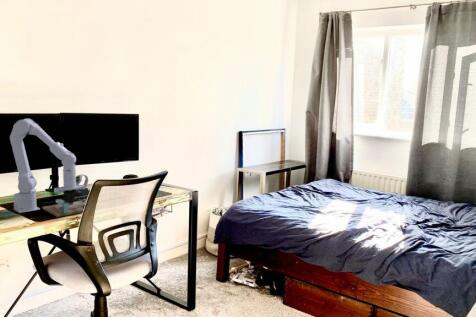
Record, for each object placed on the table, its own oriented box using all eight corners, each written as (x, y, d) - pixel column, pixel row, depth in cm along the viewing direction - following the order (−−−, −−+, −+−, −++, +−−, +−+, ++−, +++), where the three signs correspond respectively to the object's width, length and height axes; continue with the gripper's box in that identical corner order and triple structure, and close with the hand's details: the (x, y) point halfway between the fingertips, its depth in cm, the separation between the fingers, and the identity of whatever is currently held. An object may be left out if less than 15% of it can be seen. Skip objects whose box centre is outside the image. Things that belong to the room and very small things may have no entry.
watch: (72, 194, 235) (72, 175, 233) (84, 191, 242) (84, 173, 240) (79, 195, 232) (78, 176, 230) (90, 193, 239) (90, 174, 237)
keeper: (64, 213, 196) (63, 203, 195) (56, 209, 202) (55, 199, 201) (69, 212, 198) (68, 202, 197) (60, 208, 204) (60, 199, 203)
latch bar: (85, 203, 213) (85, 198, 212) (89, 205, 210) (89, 199, 210) (55, 209, 200) (55, 203, 200) (59, 211, 198) (59, 205, 197)
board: (57, 216, 193) (57, 214, 193) (42, 208, 205) (42, 206, 205) (99, 209, 208) (99, 207, 208) (83, 201, 220) (83, 200, 220)
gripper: (80, 175, 212) (81, 200, 215) (51, 178, 203) (52, 205, 205) (86, 177, 207) (87, 203, 209) (56, 181, 198) (57, 208, 200)
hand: (70, 204), depth 207 cm, fingers closed
